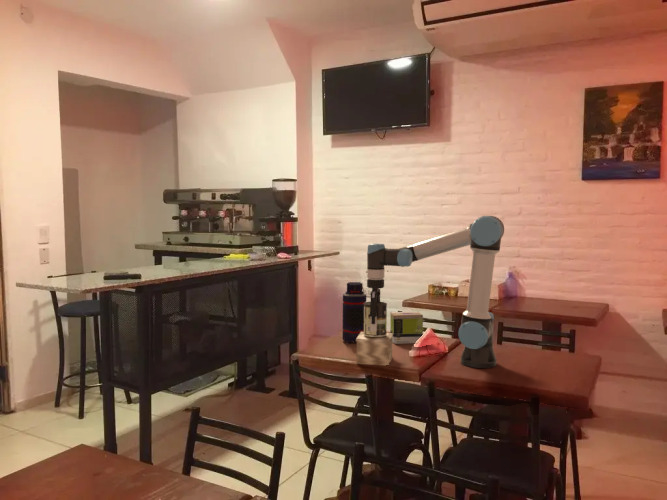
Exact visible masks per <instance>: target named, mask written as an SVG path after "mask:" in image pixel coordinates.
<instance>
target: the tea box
mask: <svg viewBox="0 0 667 500" xmlns="http://www.w3.org/2000/svg"><path fill="white" fill-rule="evenodd" d="M389 315H390V327H389V328H390V332H389V333H393V337H392V344H394V345H396V344H398V345H399V344H400V345H402V344H415V343H414V342H416V341H417V340H418V339H419V338H420V337H421V336H422V335H423V336H424V316H423V314H422V313H421V312H419V311H391V312H390V314H389Z"/></svg>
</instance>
